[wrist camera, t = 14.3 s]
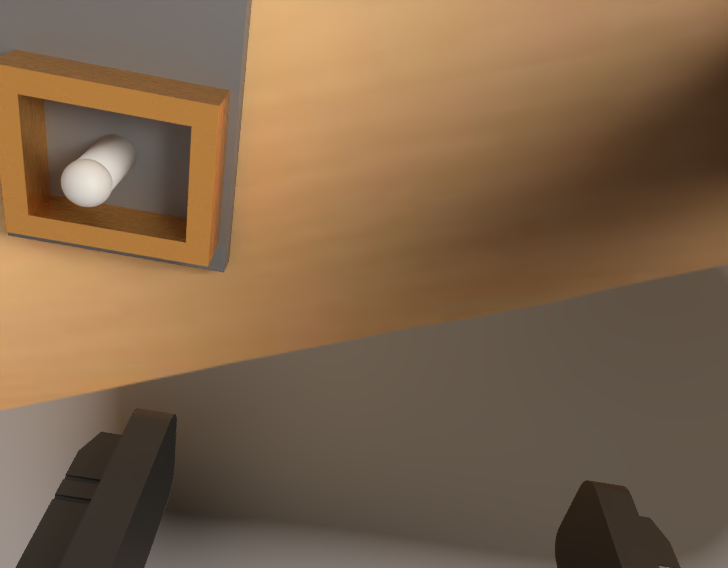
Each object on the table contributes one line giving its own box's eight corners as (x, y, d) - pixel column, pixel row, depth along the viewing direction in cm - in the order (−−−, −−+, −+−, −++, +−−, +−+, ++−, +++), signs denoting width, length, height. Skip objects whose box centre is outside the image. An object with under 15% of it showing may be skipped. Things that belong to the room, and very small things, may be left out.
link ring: (230, 90, 38) (219, 105, 35) (218, 243, 43) (207, 266, 41) (15, 49, 37) (-13, 62, 35) (29, 210, 42) (6, 231, 40)
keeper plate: (253, -24, 36) (225, -3, 30) (228, 261, 45) (203, 322, 39) (-11, -77, 35) (-97, -67, 29) (19, 224, 45) (-41, 281, 38)
